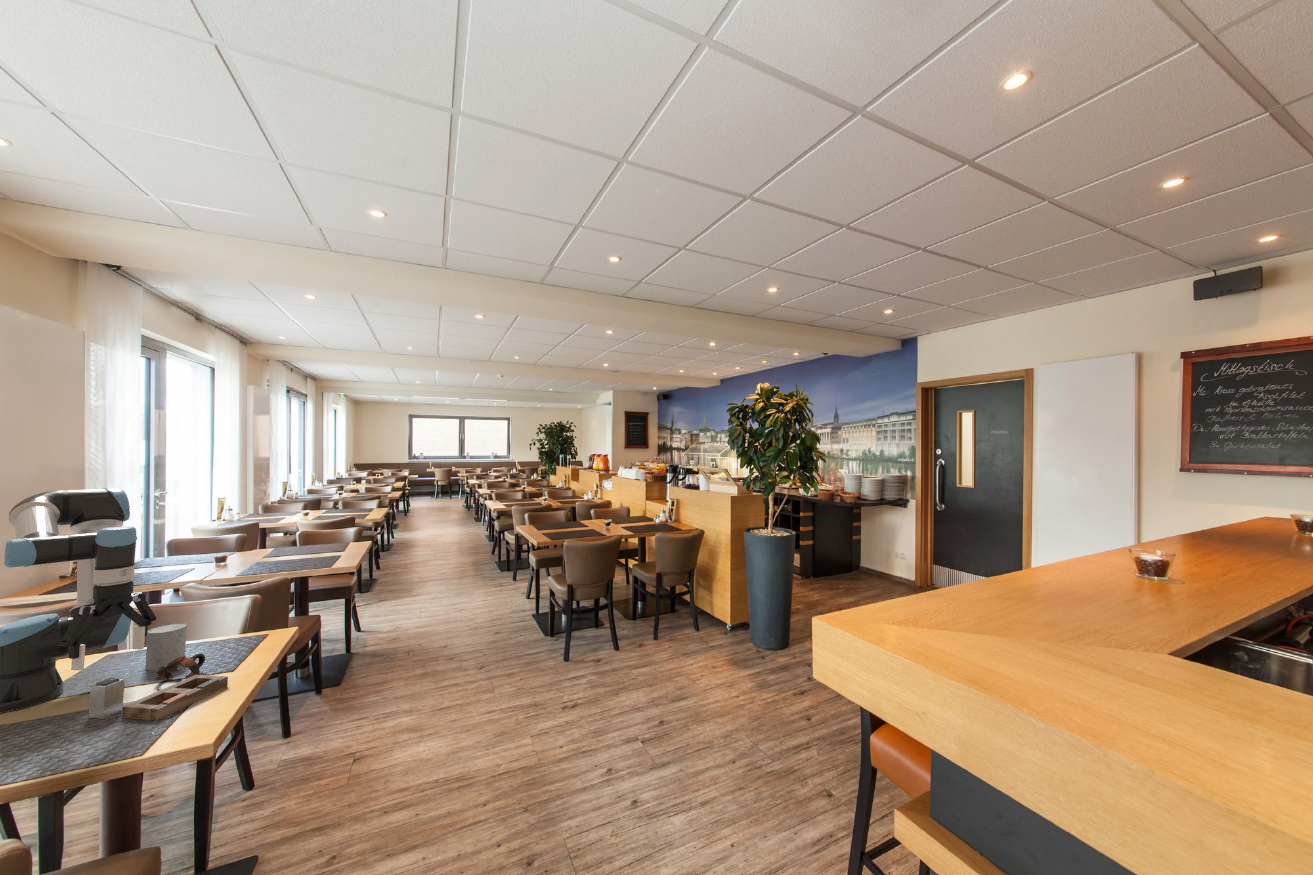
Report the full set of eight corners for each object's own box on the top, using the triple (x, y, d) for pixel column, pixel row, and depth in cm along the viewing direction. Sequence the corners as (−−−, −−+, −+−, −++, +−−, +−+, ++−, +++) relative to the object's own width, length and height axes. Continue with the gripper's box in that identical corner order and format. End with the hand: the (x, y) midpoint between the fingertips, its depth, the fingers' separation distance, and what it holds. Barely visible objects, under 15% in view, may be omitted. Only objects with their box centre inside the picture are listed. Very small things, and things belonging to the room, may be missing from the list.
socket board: (121, 717, 128) (122, 705, 128) (195, 684, 147) (196, 673, 147) (157, 720, 127) (158, 707, 127) (227, 686, 146) (227, 675, 146)
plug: (88, 717, 128) (90, 684, 129) (108, 708, 133) (110, 676, 133) (103, 718, 128) (105, 685, 128) (122, 709, 132) (124, 677, 133)
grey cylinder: (164, 670, 156) (166, 633, 156) (136, 670, 156) (138, 632, 157) (193, 658, 166) (195, 623, 166) (166, 657, 166) (168, 622, 166)
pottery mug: (182, 688, 146) (165, 667, 144) (160, 698, 147) (143, 678, 146) (219, 662, 157) (204, 642, 156) (199, 672, 159) (184, 652, 158)
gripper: (66, 595, 119) (61, 680, 118) (175, 572, 144) (171, 641, 143) (40, 594, 120) (35, 678, 119) (153, 571, 145) (149, 640, 144)
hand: (109, 658), depth 131 cm, fingers open, 13 cm apart
